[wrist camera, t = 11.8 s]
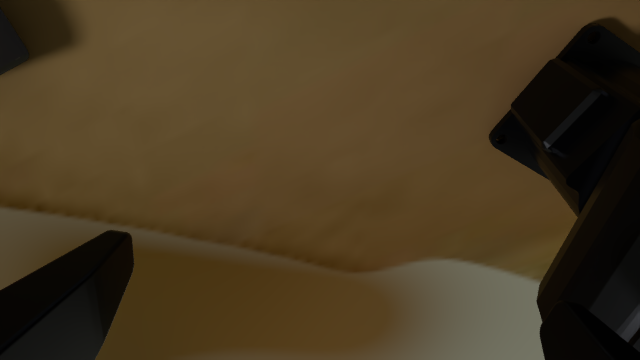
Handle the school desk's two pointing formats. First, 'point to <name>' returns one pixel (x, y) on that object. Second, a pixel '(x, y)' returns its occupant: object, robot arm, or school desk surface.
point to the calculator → (10, 46)
